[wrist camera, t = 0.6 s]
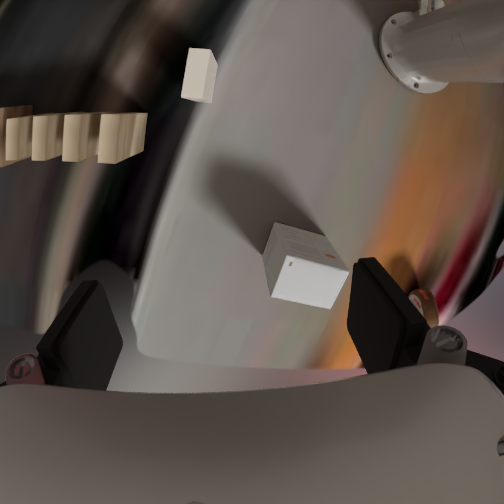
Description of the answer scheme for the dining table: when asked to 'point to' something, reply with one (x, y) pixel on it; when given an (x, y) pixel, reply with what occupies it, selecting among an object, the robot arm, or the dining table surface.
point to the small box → (303, 267)
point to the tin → (425, 305)
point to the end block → (3, 114)
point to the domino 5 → (199, 75)
